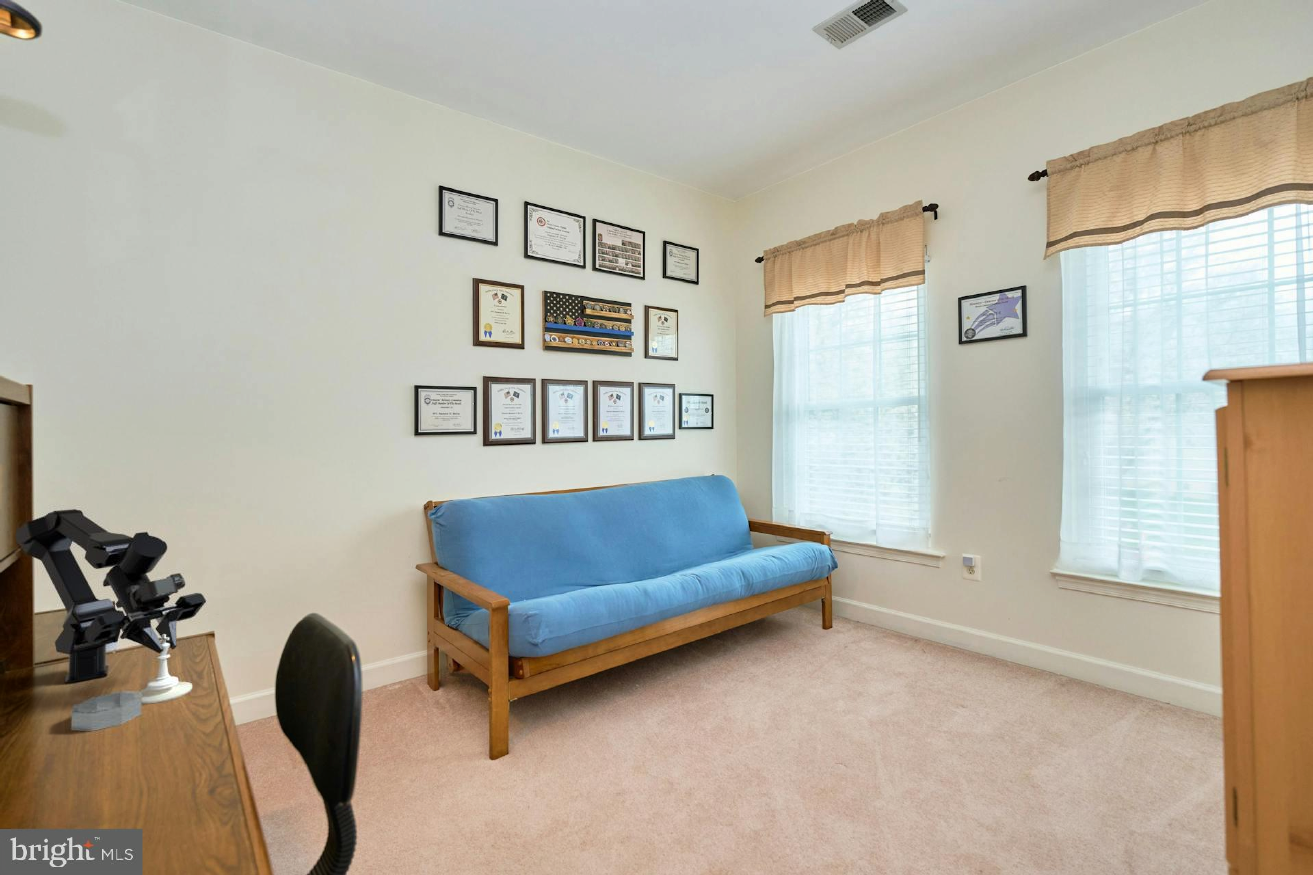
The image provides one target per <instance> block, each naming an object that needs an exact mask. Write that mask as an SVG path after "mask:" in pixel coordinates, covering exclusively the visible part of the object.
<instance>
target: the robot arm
mask: <svg viewBox="0 0 1313 875" xmlns="http://www.w3.org/2000/svg"><path fill="white" fill-rule="evenodd" d="M15 540H16V543H17V544H18V545H20V547H21V549H22V550H23V552H24V553H25V554H26V555H28V556H30V557H32V558H35V559H37V560H39V561H40V562H42V564H43V565H42V566H43V567H44V568H45V572H46V573H47V574H48V577H49V578H50V580H51V582H52V585H53V586H54V589H55V591H56V592H57V595H58V597H59V598H60V600H61V603H62V604H63V606H64V608H65V610H66V612H67V613H66V616H65V619H64V621H63V623H62V628H63V630H62V631H61V632H60V634H59V636H58V637H57V638H56V639H55V641H54V645H55V649H56V652H57V653H61V654H66V655H68V672H66V675H65V681H64V684H71V683H76V682H80V681H87V680H92V679H97V678H103V677H106V676H107V677H108V675H109V674H108V673H109V668H110V667H109V665H107V664H106V660H107V659H106V658H107V645H109V644H112V643H115V644H116V643H118V641H119V638H120V639H121V640H125V639H127V640H129V641H131V642H134V643H137V644H139V645H141V646H143V647H145V648H148V649H150V650H151V651H154V652H155V653H158V654H160V653H162V652H163V650H164V649H163V647H162V644H161V643H162V641H160V640H159V639H158V638H159V637H158V635H159V636H160V638H162V635H163V634H166V637H169V640H166V643H170V647H169V648H170V649H171V650H175V649H176V648H177V645H178V644H177V622H181V621H185V620H188V619H192V618H193V617H195V616H196V615H197V614H198V613H199V611H200V610H201V609H202V607H203V606H204V605H205V604H206V602H207V600H206V598H205V596H204V595H203V594H202V593H200V592H194V593H190V594H186V595H181V596H179V597H178V598H177V600H176V601H175V603H174V604H171V605H167V606H165V604H166V603H168V602H169V601H170V600H171V598H170V596H172V595H173V594H177V593H179V590H182V589H183V588H185V586H186V582H185V581H186V580H185V579H184V577H183V576H182V574H181V573H180V572H179V573H173V574H169V576H166V578H161V579H156V580H151V579H150V578H149V576H148V574H149V573H151V572H152V571H153V570H155V569H154V568H156V566H157V565H158V564H159V562H160V561H161V559H162V558H163V556H164V555H165V554H166V552H167V550H168V545H167V543H166V541H165V540H162V539H161V538H159V537H157V536H154V535H153V536H152V535H150V534H149V533H148V532H147V531H142V532H141V531H140V532H135V533H134V535H133V537H132V536H129V535H127V534H124V533H116V532H114V533H113V532H110V531H108V530H106V529H105V528H103V527H102V526H100V525H99V524H98V523H96V522H95V521H92V520H91V519H89V518H88V517H87V516H85V515H84V513H83V511H82V510H81V509H76V508H72V509H71V508H70V509H64V510H63V509H61V510H53V511H51V512H48V513H47V514H45V515H44V516H41V517H38V518H35V519H33V520H30V521H27V522H25V523H24V524H23V525H22V526H20V527H19V528H17V530H16V532H15ZM73 543H75V544H76V545H78V546H79V547H80V548H81V549H83V550H84V551H85V554H84V559H85V561H86V562H87V563H88V564H89V565H90V566H91V567H92V568H94V569H96V570H100V569H105V568H110V569H109V570H108V572H106V574H105V578H104V580H103V581H102V587H104V588H105V587H110V588H111V589H112V591H113V593H114V595H115V597H116V599H117V601H116V603H115V606H116V607H115V606H114V603H113V600H111V599H110V598H103V599H98V598H97V597H96V595H95V594H94V592H93V589H92V588H91V585H90V583H89V582H88V580H87V579H86V576H85V575H84V573H83V570H82V569H81V566H80V564H79V563H78V561H77V559H76V557H75V555H74V554H73V551H72V550H71V546H72V544H73ZM116 608H117V609H120V608H122V609H123V610H117V609H116ZM153 620H156V622H157V623H158V625H156V627H155V631H156V632H157V634H158V635H157V634H156V632H155V631H154V629H153V627H152V622H151V621H153ZM120 633H121V634H120Z"/></svg>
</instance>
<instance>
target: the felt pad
mask: <svg viewBox="0 0 1313 875" xmlns="http://www.w3.org/2000/svg"><path fill="white" fill-rule="evenodd" d="M192 690H193V683H192V682H187V681H179V682H178V683H177V684H176V685H174V686H172V687H169V688H165V689H159V690H149V689H147V687H146V688H144V689H142V690H139V692H141V705H147V704H157V703H163V702H167V701H172V700H175V699H177V698H181V697H183V696H186V695H187V694H189V693H190V692H191V691H192Z"/></svg>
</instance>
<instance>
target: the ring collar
mask: <svg viewBox="0 0 1313 875" xmlns="http://www.w3.org/2000/svg"><path fill="white" fill-rule="evenodd" d="M141 715H142V704H141V692H140V691H136V690H135V691H133V690H130V691H129V690H120V691H115V692H110V693H105V694H101V695H100V694H99V695H96V696H92V697H90V698H89V699H88V698H87V699H85V700H84V701H81V702H79V703H76V704H73V706H72V709H71V731H78V732H79V731H82V732H95V731H98V730H99V731H100V730H102V729H107V728H112V727H116V726H120V725H123V724H125V723H128V722H129V721H131V720H133V719H135V718H137V717H140V716H141Z"/></svg>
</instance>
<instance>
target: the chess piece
mask: <svg viewBox="0 0 1313 875" xmlns="http://www.w3.org/2000/svg"><path fill="white" fill-rule="evenodd" d="M158 639H159V640H160V642H161V644H162V647H163V649H164V650H163V652H162V653H159V655H158V656H156V660H159V666H158V672H157V676H156V677H155V679H152V680H150V681H149V682H148V683H147V684H146V685H147V686H146V688H147V689H149V690H159V689H165V688H169V687H172V686H174V685H176V684H177V683H178V682H180V680H179V678H178V677H177V676H173V675H172V676H171V674H169V669H168V660H167V659H168V658H170V657H171V655H170V653H168V652H169V648H170V643H166V640H169V637H166V634H163V635H162V637H158Z"/></svg>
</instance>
